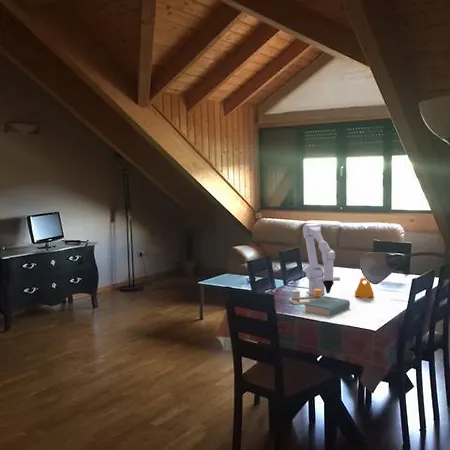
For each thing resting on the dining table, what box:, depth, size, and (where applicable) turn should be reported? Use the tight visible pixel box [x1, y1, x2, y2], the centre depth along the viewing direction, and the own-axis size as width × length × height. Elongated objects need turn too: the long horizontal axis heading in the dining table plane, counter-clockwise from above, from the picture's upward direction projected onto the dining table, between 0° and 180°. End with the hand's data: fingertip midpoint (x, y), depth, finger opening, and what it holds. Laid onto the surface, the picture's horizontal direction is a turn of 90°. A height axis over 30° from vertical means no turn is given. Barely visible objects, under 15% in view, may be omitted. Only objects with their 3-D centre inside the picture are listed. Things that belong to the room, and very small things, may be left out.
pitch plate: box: [288, 289, 325, 305], centre depth 328 cm, size 22×9×6 cm, turn 104°
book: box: [303, 295, 351, 318], centre depth 309 cm, size 23×16×5 cm
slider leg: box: [312, 289, 323, 298], centre depth 330 cm, size 4×7×5 cm, turn 14°
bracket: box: [354, 276, 375, 298], centre depth 341 cm, size 11×7×12 cm, turn 79°
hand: (328, 292), depth 333 cm, fingers closed
